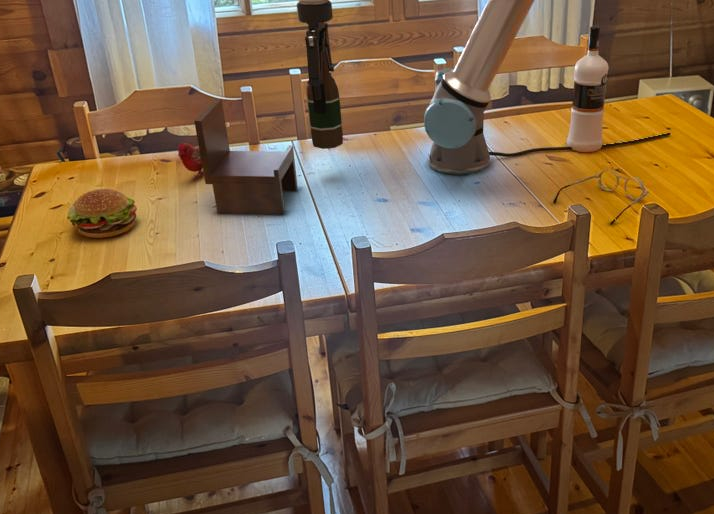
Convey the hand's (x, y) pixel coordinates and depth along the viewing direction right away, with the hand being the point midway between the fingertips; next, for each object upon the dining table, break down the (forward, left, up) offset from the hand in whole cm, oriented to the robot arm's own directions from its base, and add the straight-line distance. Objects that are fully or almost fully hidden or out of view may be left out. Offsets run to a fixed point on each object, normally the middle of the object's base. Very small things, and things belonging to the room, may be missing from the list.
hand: (324, 106), depth 188 cm
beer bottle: (0, 0, -9) cm, 9 cm away
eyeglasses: (-64, +12, -18) cm, 67 cm away
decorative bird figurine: (+32, -2, -18) cm, 37 cm away
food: (+44, +29, -18) cm, 56 cm away
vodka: (-63, -24, -18) cm, 70 cm away
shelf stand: (+14, +13, -18) cm, 26 cm away
